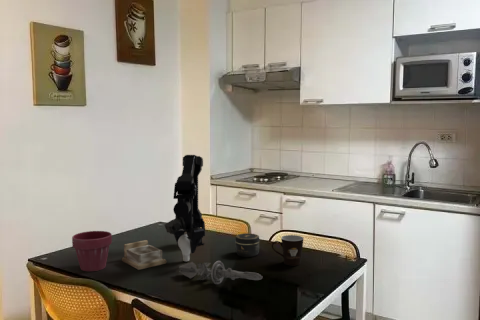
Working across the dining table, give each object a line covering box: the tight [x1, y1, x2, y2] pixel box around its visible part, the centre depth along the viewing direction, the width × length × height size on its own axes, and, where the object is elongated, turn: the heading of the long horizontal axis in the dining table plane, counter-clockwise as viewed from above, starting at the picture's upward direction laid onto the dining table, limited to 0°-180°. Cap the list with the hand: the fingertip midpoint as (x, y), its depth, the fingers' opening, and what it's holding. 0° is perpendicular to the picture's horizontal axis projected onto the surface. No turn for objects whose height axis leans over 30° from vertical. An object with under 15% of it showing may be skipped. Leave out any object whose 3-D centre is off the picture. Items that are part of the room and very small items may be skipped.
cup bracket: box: [121, 239, 167, 271], centre depth 181 cm, size 12×14×6 cm
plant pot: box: [71, 230, 113, 272], centre depth 174 cm, size 14×14×13 cm
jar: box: [234, 232, 260, 258], centre depth 191 cm, size 10×10×8 cm
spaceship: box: [177, 260, 264, 285], centre depth 157 cm, size 8×35×8 cm
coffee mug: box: [271, 234, 304, 267], centre depth 179 cm, size 12×9×10 cm
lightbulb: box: [177, 233, 191, 263], centre depth 181 cm, size 6×6×11 cm
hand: (186, 250), depth 181 cm, fingers open, 9 cm apart
